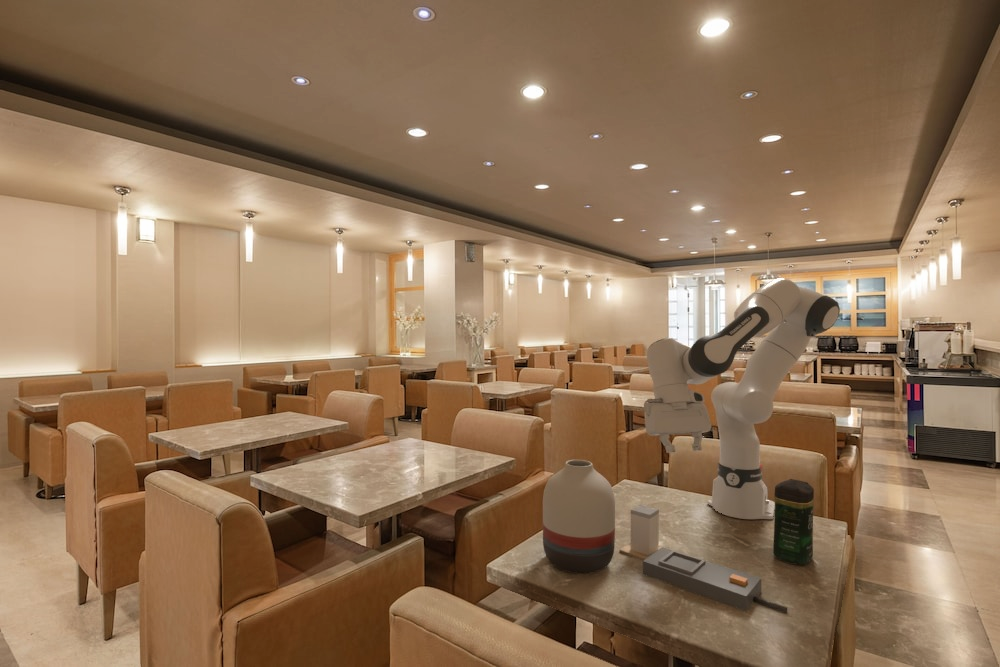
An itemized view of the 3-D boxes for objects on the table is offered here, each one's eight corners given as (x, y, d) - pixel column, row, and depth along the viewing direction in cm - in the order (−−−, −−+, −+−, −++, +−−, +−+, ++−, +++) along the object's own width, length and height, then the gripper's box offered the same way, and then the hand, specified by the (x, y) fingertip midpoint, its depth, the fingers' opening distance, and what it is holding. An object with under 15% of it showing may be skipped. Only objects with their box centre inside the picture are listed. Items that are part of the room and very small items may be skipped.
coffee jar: (806, 570, 117) (807, 490, 116) (769, 558, 122) (770, 482, 122) (817, 556, 124) (817, 481, 123) (781, 546, 129) (782, 474, 129)
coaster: (636, 541, 132) (636, 538, 132) (669, 551, 126) (669, 549, 126) (619, 552, 125) (619, 549, 125) (653, 563, 119) (653, 561, 119)
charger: (639, 543, 129) (640, 504, 129) (658, 549, 126) (658, 509, 126) (630, 549, 125) (630, 509, 125) (649, 555, 122) (649, 514, 122)
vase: (599, 587, 108) (600, 477, 108) (530, 567, 117) (530, 465, 117) (624, 557, 123) (624, 460, 123) (560, 541, 132) (561, 451, 131)
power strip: (661, 559, 121) (662, 543, 121) (793, 602, 103) (793, 584, 103) (642, 574, 114) (642, 557, 114) (780, 623, 95) (780, 603, 95)
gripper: (651, 395, 126) (663, 452, 121) (708, 395, 135) (721, 447, 131) (634, 401, 131) (645, 455, 126) (690, 400, 140) (702, 451, 136)
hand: (684, 451), depth 129 cm, fingers open, 8 cm apart
